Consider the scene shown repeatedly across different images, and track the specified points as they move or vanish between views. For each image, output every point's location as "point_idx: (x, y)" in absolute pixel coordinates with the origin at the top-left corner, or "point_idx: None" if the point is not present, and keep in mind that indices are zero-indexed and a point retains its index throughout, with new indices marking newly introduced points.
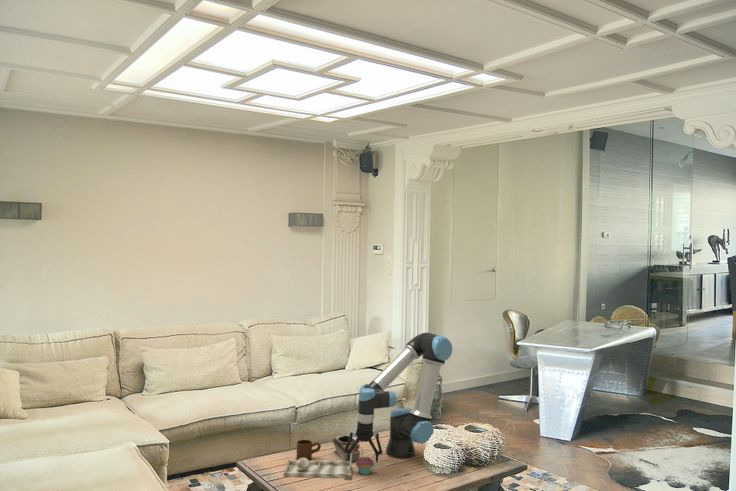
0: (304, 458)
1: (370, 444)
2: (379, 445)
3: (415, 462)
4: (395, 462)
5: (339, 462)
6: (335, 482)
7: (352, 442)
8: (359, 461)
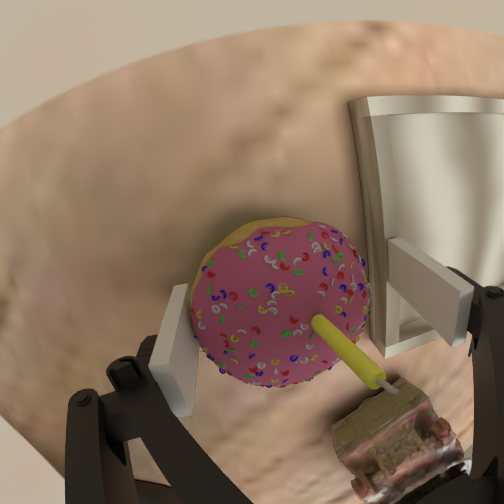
0: None
1: (243, 495)
2: (78, 486)
3: (45, 449)
4: None
5: None
6: (429, 52)
7: (408, 489)
8: (343, 269)
